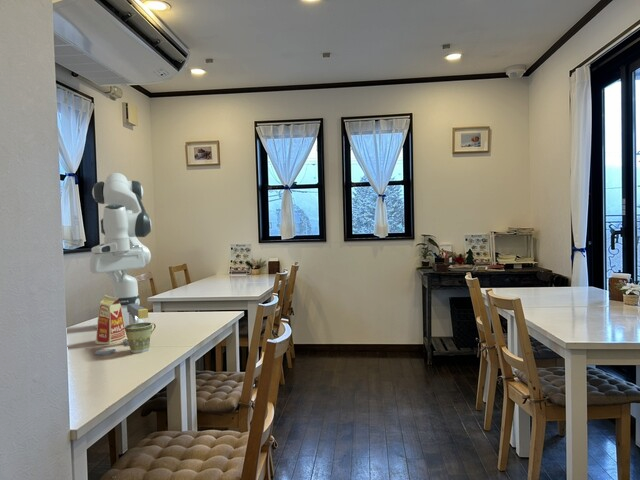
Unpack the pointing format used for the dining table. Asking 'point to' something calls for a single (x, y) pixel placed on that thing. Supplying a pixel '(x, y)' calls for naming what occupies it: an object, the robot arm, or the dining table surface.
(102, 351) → the label plate
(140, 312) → the swing arm
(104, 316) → the milk carton
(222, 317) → the dining table surface
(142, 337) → the ceramic cup
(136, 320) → the post
